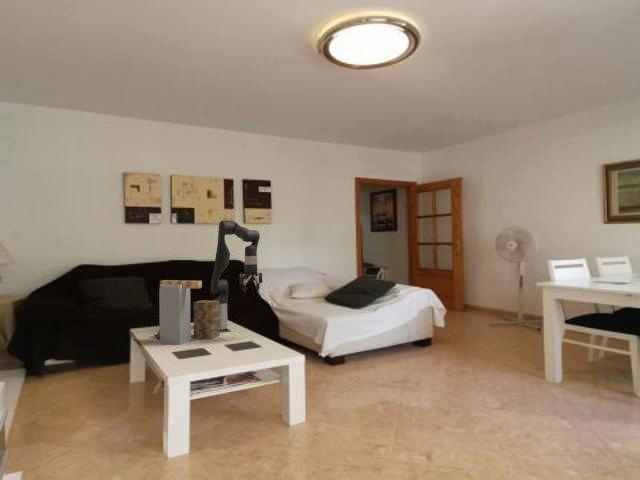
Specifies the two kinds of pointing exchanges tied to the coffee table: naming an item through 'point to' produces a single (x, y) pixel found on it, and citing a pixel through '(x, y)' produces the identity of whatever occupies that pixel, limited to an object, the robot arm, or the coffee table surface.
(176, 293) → the grey stand
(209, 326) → the walnut step
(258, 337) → the coffee table surface
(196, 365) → the coffee table surface
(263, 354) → the coffee table surface
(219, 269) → the robot arm
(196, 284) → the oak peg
